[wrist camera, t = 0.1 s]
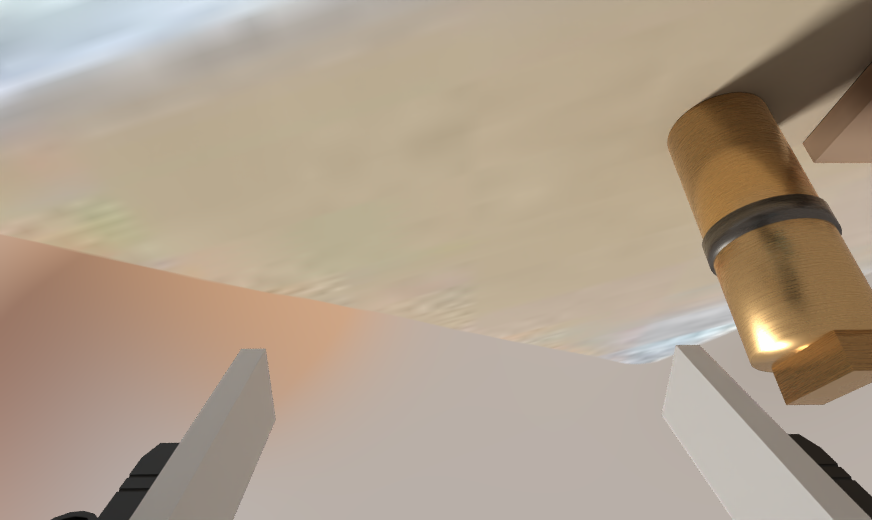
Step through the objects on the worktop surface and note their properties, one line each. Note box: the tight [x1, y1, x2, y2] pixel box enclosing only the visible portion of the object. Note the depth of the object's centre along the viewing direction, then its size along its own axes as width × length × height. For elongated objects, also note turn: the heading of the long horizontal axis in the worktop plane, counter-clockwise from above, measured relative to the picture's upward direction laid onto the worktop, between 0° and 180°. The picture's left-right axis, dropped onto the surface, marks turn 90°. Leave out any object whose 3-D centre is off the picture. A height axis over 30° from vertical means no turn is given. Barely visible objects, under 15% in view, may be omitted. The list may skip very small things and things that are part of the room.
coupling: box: [667, 92, 872, 405], centre depth 23 cm, size 5×5×15 cm
